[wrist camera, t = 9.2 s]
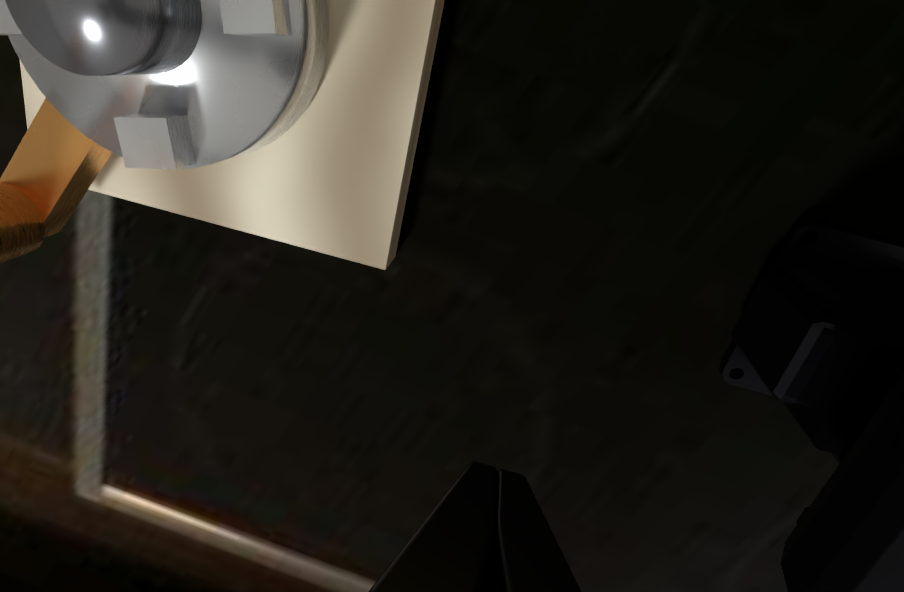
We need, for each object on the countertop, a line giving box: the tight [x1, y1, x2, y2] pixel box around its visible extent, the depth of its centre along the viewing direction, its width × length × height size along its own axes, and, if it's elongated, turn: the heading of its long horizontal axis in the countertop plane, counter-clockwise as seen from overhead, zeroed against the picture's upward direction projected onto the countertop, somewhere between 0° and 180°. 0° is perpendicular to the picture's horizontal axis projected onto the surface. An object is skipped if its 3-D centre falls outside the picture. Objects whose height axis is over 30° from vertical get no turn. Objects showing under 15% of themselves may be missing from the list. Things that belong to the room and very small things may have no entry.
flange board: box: [20, 0, 444, 270], centre depth 18 cm, size 14×13×2 cm
